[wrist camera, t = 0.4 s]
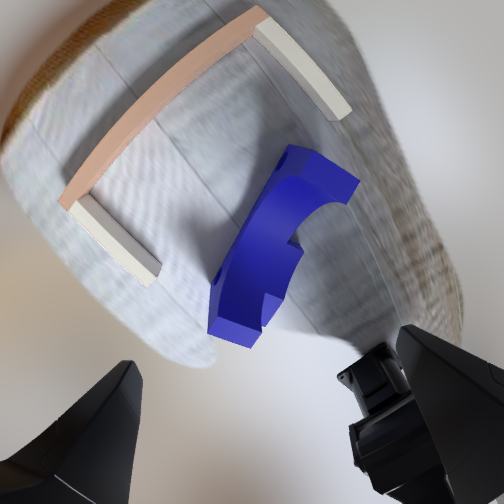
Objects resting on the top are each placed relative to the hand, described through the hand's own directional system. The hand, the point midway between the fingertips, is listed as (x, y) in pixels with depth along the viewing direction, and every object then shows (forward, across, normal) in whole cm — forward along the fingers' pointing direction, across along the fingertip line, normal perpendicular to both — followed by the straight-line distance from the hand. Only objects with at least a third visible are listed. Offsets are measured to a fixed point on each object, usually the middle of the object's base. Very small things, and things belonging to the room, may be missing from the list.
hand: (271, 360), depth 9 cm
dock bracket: (+13, +3, -6) cm, 14 cm away
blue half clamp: (+14, -2, 0) cm, 14 cm away
